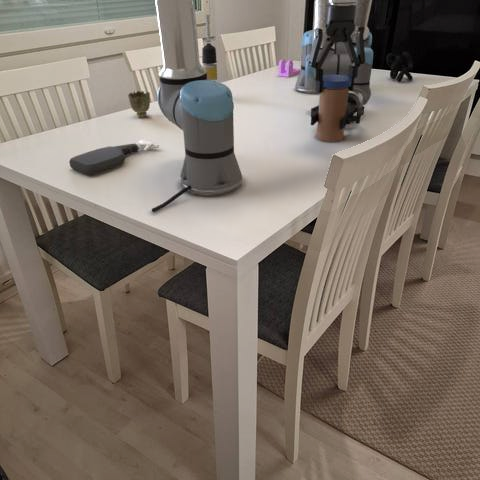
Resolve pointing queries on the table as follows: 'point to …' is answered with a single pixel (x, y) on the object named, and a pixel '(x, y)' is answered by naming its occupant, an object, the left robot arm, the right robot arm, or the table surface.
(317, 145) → the table surface
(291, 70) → the bracket
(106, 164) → the spray bottle
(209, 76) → the black tall bottle
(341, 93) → the jar
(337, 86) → the lid
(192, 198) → the table surface
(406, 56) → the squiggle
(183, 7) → the left robot arm
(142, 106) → the cup
